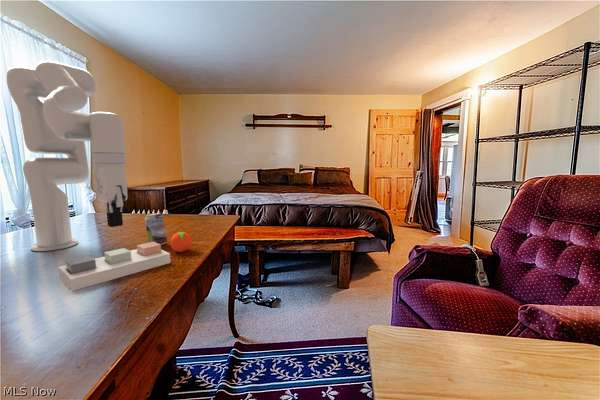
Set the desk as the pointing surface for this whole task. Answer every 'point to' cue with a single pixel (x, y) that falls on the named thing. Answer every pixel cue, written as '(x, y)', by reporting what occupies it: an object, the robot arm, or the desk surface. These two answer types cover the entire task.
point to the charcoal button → (80, 264)
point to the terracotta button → (148, 248)
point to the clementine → (181, 241)
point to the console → (112, 269)
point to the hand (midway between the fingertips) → (115, 225)
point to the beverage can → (156, 228)
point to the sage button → (117, 256)
